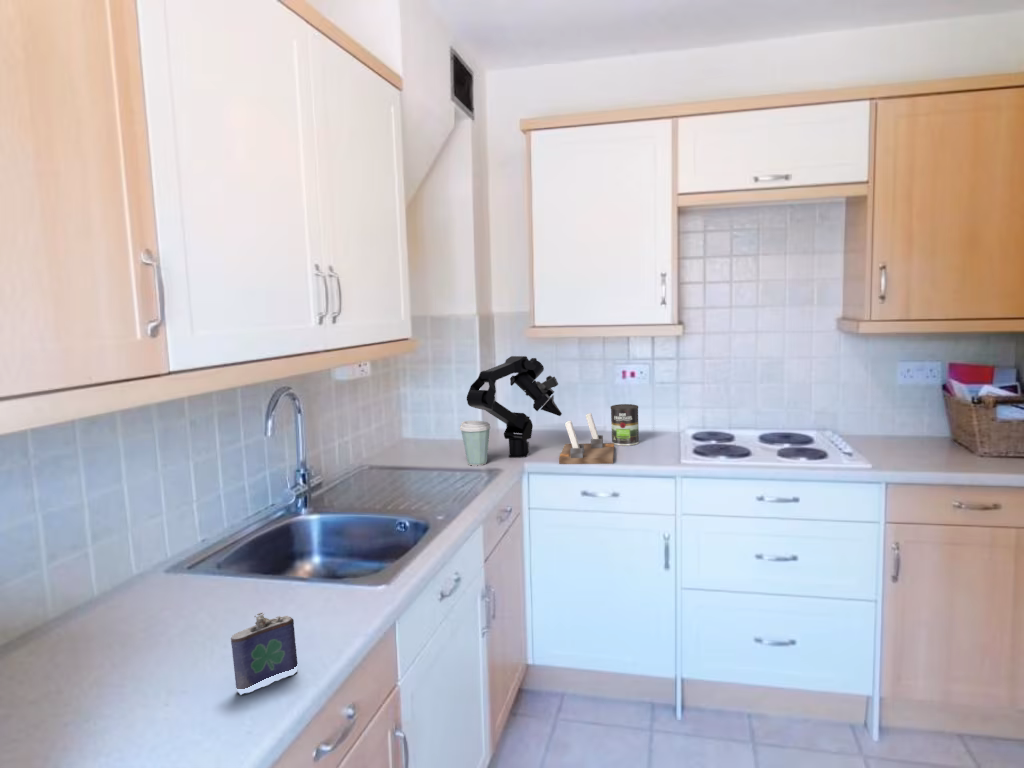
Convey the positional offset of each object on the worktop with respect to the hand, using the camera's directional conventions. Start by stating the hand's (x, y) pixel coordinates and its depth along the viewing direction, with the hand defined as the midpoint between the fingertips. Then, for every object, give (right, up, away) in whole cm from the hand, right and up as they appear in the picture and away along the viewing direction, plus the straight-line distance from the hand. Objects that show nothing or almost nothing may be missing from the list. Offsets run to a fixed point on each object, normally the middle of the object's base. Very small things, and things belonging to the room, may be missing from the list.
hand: (561, 415), depth 237 cm
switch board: (+9, -14, -7) cm, 18 cm away
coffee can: (+25, -11, +10) cm, 29 cm away
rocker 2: (+13, -11, -1) cm, 17 cm away
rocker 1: (+5, -13, -13) cm, 19 cm away
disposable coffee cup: (-30, -17, -10) cm, 35 cm away
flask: (-55, -34, -137) cm, 152 cm away
